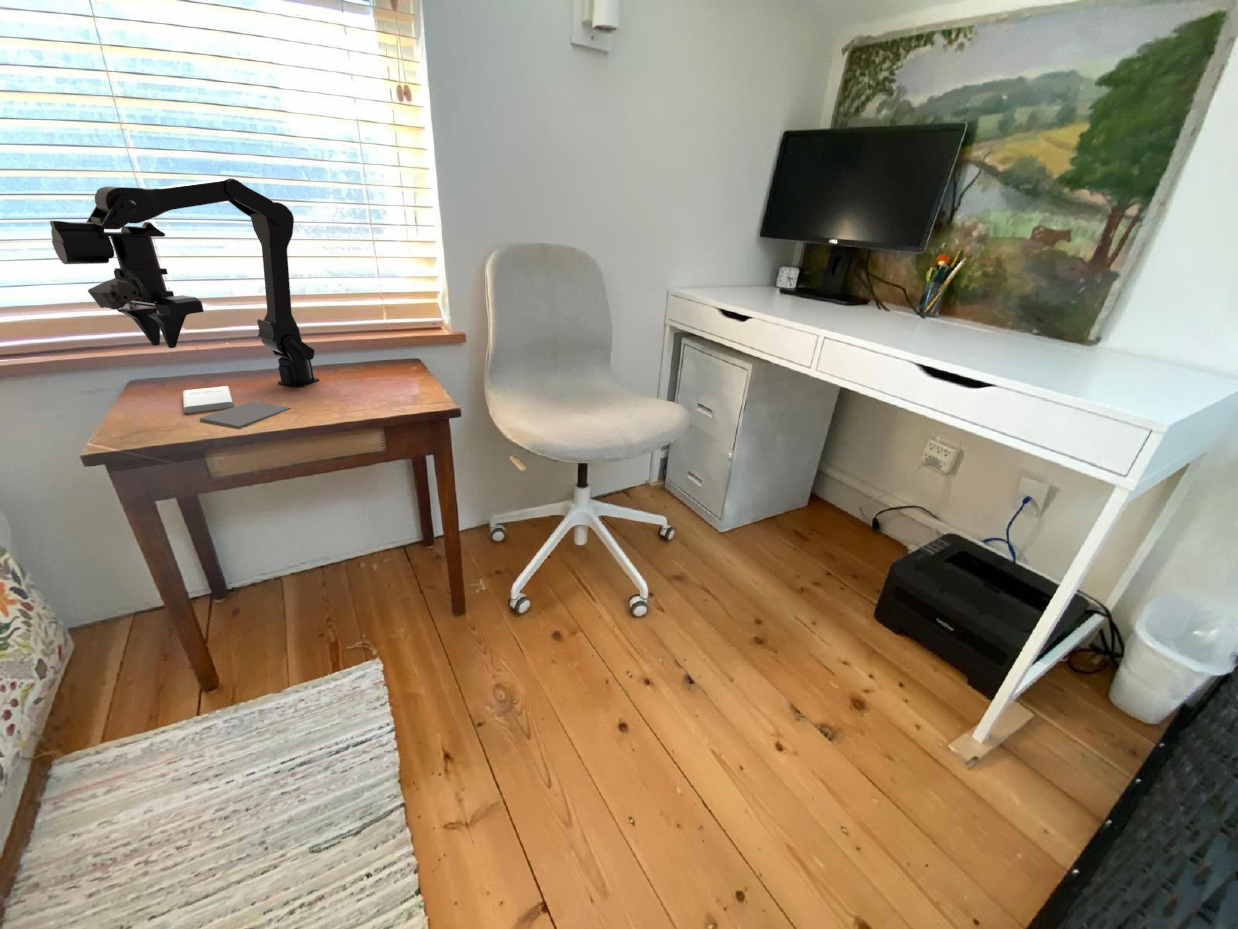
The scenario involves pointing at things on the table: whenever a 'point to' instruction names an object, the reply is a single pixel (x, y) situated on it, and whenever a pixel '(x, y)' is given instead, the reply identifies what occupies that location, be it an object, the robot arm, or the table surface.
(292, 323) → the robot arm
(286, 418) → the table surface
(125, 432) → the table surface
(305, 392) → the table surface
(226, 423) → the desk mat
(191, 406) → the external hard drive
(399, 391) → the table surface
